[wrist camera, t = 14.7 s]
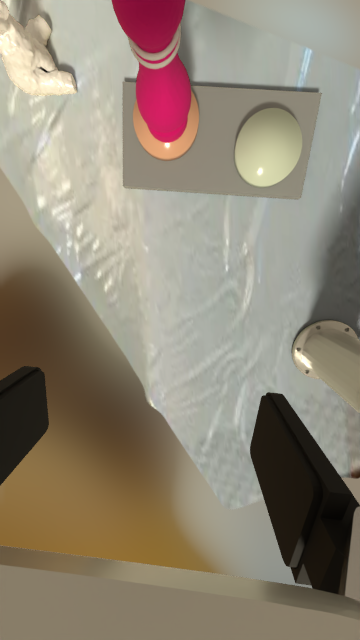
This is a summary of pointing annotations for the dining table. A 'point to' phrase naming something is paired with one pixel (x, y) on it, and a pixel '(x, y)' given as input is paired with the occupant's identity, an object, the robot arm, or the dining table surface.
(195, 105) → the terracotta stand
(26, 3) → the dining table surface
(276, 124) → the pale green domed disc
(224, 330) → the dining table surface
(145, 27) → the pepper mill
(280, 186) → the board
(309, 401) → the dining table surface
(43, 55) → the sitting furry creature
